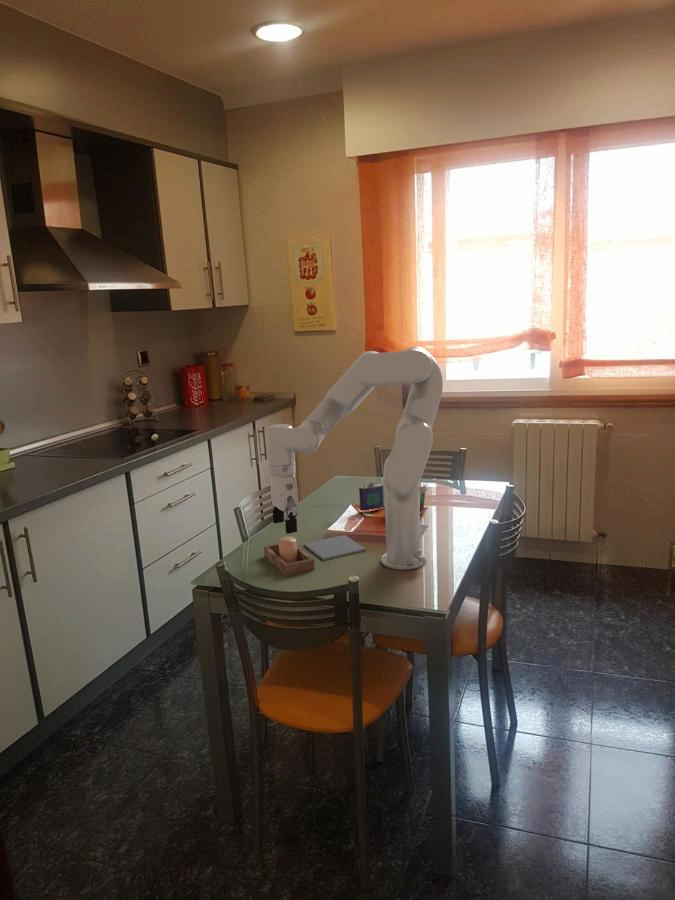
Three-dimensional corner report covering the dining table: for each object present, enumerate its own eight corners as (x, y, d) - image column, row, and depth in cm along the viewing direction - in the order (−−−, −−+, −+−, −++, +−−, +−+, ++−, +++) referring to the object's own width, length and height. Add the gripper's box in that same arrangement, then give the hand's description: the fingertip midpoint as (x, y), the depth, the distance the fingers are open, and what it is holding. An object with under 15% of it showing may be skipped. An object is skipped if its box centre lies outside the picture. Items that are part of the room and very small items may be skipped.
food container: (389, 517, 223) (388, 488, 221) (392, 511, 229) (391, 483, 227) (425, 518, 220) (425, 489, 218) (427, 512, 226) (427, 484, 224)
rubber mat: (366, 550, 194) (366, 548, 194) (323, 560, 189) (323, 558, 188) (344, 536, 207) (344, 534, 207) (303, 545, 201) (303, 543, 201)
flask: (382, 507, 234) (381, 478, 232) (386, 509, 232) (385, 480, 229) (358, 511, 231) (357, 482, 228) (362, 514, 228) (361, 484, 225)
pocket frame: (314, 569, 183) (314, 559, 182) (285, 576, 179) (285, 565, 178) (291, 550, 198) (290, 540, 197) (264, 556, 194) (263, 546, 193)
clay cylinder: (300, 563, 187) (298, 540, 186) (283, 567, 185) (282, 544, 184) (293, 558, 192) (292, 535, 190) (277, 561, 189) (275, 538, 188)
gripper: (306, 473, 176) (309, 534, 180) (283, 460, 191) (285, 516, 195) (280, 477, 173) (283, 539, 177) (258, 464, 188) (262, 521, 192)
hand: (284, 527), depth 186 cm, fingers open, 9 cm apart
